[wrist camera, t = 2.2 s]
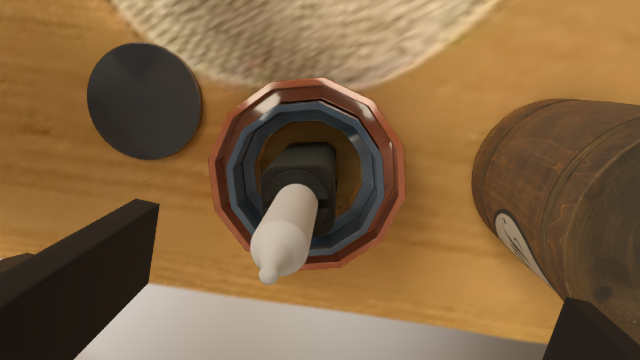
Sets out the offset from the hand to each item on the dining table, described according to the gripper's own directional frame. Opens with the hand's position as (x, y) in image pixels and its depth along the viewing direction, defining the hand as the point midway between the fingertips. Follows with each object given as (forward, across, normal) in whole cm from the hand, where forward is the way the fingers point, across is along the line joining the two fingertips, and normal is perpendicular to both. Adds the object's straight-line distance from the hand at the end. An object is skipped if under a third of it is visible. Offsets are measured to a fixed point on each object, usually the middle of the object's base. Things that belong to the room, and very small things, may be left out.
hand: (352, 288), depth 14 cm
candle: (+29, -3, -2) cm, 29 cm away
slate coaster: (+29, -20, 0) cm, 35 cm away
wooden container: (+29, +20, +2) cm, 35 cm away
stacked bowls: (+29, -3, -2) cm, 29 cm away
